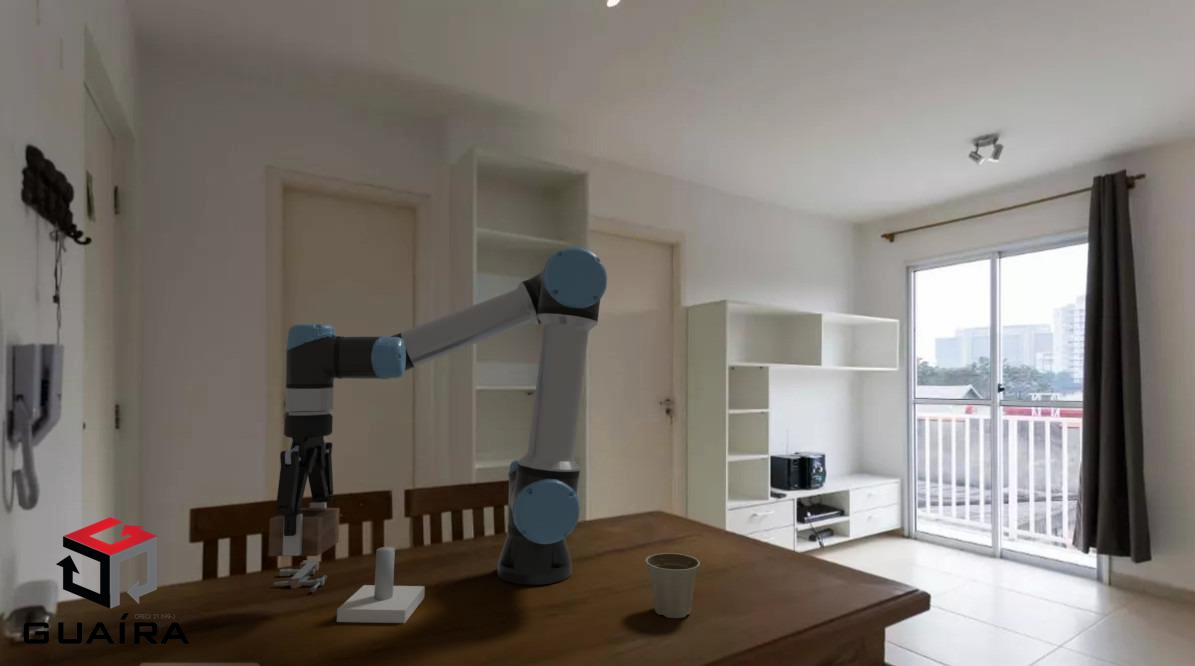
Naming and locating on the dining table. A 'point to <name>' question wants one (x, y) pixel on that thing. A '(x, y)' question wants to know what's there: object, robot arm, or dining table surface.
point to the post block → (382, 596)
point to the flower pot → (672, 583)
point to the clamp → (302, 575)
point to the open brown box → (308, 531)
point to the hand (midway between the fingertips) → (305, 546)
